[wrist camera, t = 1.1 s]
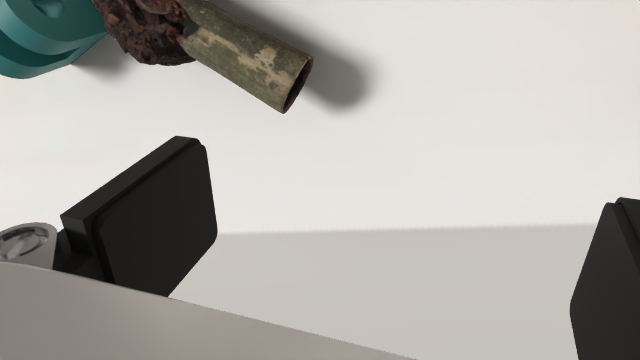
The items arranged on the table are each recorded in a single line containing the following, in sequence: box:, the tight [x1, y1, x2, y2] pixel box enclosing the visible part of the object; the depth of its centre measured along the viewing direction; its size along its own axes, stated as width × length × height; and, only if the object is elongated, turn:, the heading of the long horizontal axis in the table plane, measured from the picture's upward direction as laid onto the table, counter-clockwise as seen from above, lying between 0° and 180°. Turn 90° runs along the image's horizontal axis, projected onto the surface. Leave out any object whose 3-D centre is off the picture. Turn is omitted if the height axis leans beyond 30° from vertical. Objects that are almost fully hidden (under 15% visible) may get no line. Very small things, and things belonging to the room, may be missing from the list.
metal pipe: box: [93, 0, 313, 114], centre depth 35 cm, size 18×7×6 cm, turn 65°
